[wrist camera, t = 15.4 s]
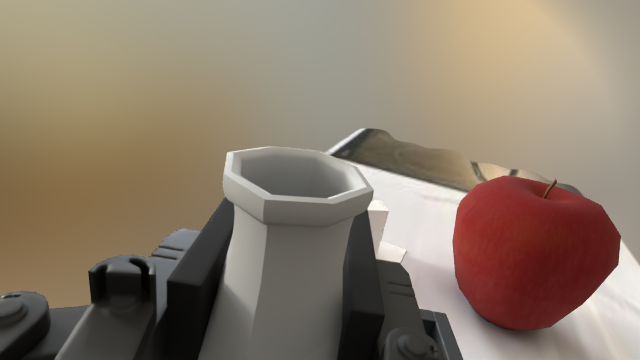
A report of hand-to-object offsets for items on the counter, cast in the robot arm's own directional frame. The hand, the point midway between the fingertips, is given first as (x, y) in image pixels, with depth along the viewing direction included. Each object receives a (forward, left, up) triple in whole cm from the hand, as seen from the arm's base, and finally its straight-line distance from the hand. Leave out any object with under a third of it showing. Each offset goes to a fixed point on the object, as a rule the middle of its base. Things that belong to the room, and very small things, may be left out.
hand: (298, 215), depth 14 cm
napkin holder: (+3, +20, -14) cm, 25 cm away
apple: (+19, +15, -14) cm, 28 cm away
